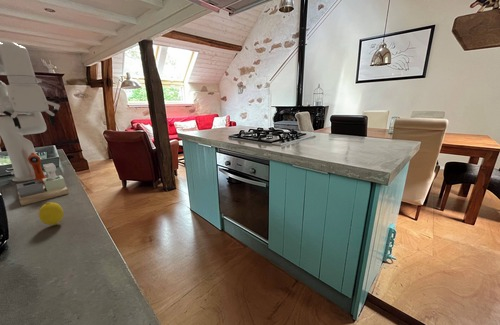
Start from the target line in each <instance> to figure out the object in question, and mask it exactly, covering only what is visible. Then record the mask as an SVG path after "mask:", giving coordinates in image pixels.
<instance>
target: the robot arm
mask: <svg viewBox="0 0 500 325" xmlns="http://www.w3.org/2000/svg"><path fill="white" fill-rule="evenodd" d="M0 76H6V77H7V80H8V84H6V83H5V82H3V81H2V80H0V115H2V116H0V137H1V140H2V142H3V144H4V146H5V147H4V148H5V149H6V151H7V152H6V153H7V156H8V158H9V161H10V164H11V166H12V169H13V170H12V171H11V172H10V174H11V175H14V177H12V181H13V182H15V183H16V182H17V183H19V182H21V183H22V182H29V181H34V180H35V178H36V177H35V172H34V169H33V167H32V165H31V164H30V163H29V161H28V157H29V156H30V155H31V153H34V154H36V149H35V147H34V144H33V142H32V141H31V140H29V139H28V138H27V137H24V136H26V135H34V134H41V133H44V132H46V131H47V129H48V128H47V124H46V122H45V121H46V120H45V119H44V117H43V115H42V112H43V113H44V112H45V113H46V114H48V115H49V116H48V118H49V122H50V126H52V127H55V125H56V124H57V123H56V118H55V115H56V114H57V113H58V112H59V111H60V107H61V105H60V104H58V103H55V102H53V101H50V100H47V98H46V95H45V92H44V91H43V88H42V87H41V85H39V83H43V82H42V81H43V80H42V79H41V78H38V77H36V74H35V71H34V67H33V64H32V61H31V58H30V53H29V51H28V49H27V48H26V47H25V46H23V45H19V44H17V43H16V42H13V41H9V40H5V39H4V40H3V39H0ZM49 105H50V106H53V107H54V108H53V110H49V109H50V107H49ZM36 155H37V154H36ZM43 173H44V175H45V176H47V172H46V171H43Z"/></svg>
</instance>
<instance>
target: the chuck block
mask: <svg viewBox="0 0 500 325" xmlns="http://www.w3.org/2000/svg"><path fill="white" fill-rule="evenodd" d="M43 186H44V184H42V182H41V180H40V179H39V180H35V179H34V180H29V181H24V182H21V183H16V189H17V193H18V192H19V194H18V196H19V195H20V197H21V198H23V197H27V196H31V195H35V194H40V193H44V192H45V191H44V188H43Z"/></svg>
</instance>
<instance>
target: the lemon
mask: <svg viewBox="0 0 500 325" xmlns="http://www.w3.org/2000/svg"><path fill="white" fill-rule="evenodd" d="M64 214H65V213H64V210H63V208H62V206H61V205H60V204H59V203H57V202H51V201H47V202H46V203H44V204H43V205H42V206H41V207H40V208H39V211H38V216H39V220H40V221H41V222H42V223H43V224H44V225H49V226H50V225H52V226H56V225H57V224H58V223H59V222H60V223H61V221H62V219H64V218H63V217H64Z"/></svg>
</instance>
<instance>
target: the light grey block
mask: <svg viewBox="0 0 500 325" xmlns="http://www.w3.org/2000/svg"><path fill="white" fill-rule="evenodd" d="M42 165H43V170H44V172H46V174H47V175H48V177H47V178H49V180H50V181H51V180H55V179H57V177H56V176H57V174H56V171H57V167H56V165H55V164H54V163H53V162H51V163H50V162H49V163H44V164H42Z"/></svg>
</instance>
